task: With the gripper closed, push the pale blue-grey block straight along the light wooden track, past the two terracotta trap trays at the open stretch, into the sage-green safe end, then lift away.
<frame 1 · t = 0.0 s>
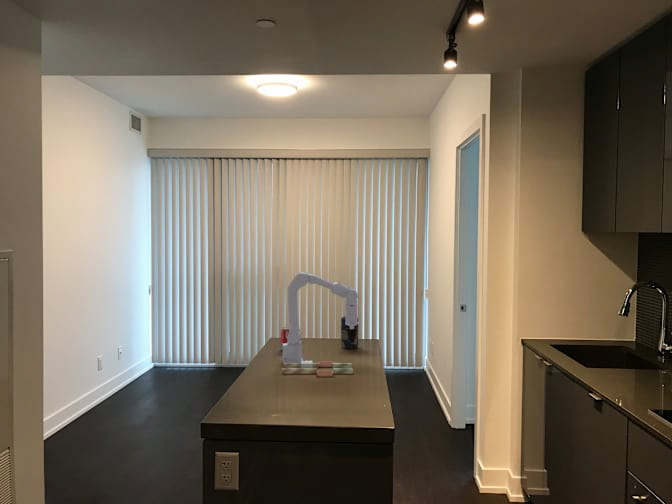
hand: (351, 341, 242), 10 cm above the countertop, tool pointing down, fingers open, 7 cm apart
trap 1: (325, 365, 235), on the countertop
soda can: (287, 350, 267), on the countertop
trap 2: (325, 375, 219), on the countertop
block: (306, 370, 227), on the countertop
canister: (349, 347, 273), on the countertop
track: (317, 370, 227), on the countertop
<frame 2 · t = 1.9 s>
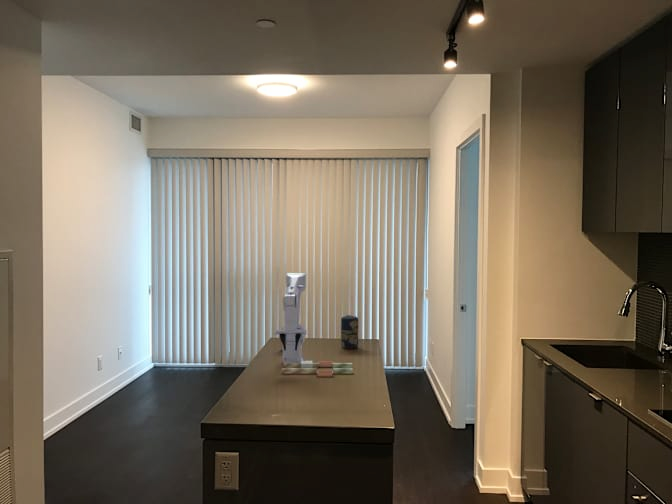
hand: (290, 350, 226), 9 cm above the countertop, tool pointing down, fingers open, 4 cm apart
nothing on the countertop moved.
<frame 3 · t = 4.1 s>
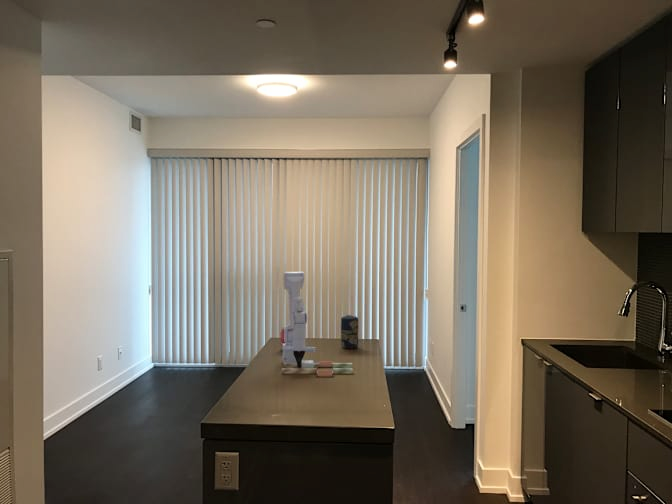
hand: (299, 367, 227), 1 cm above the countertop, tool pointing down, fingers closed
block: (307, 370, 227), on the countertop, touching gripper
everything else where it was.
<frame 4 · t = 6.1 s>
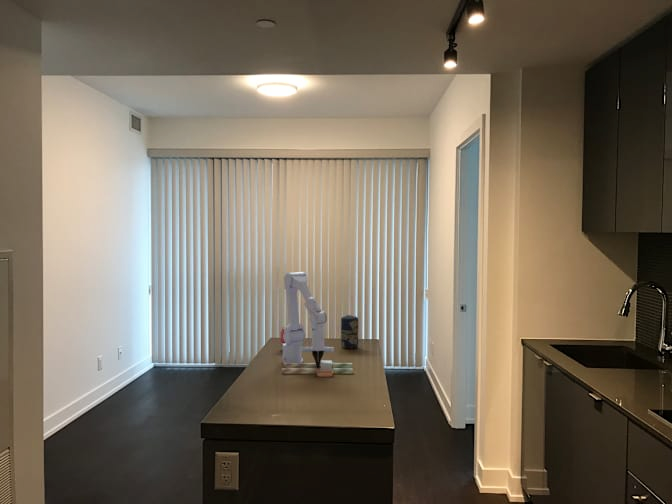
hand: (318, 367, 227), 1 cm above the countertop, tool pointing down, fingers closed
block: (326, 370, 227), on the countertop, touching gripper
everything else where it was.
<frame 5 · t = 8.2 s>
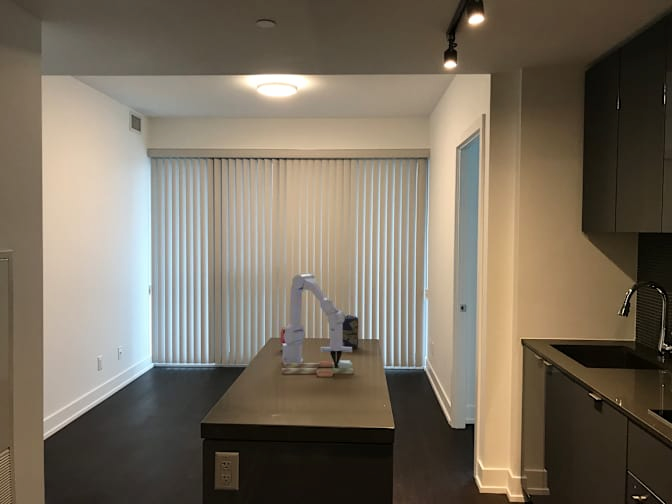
hand: (336, 367, 227), 1 cm above the countertop, tool pointing down, fingers closed
block: (344, 370, 227), on the countertop, touching gripper
everything else where it was.
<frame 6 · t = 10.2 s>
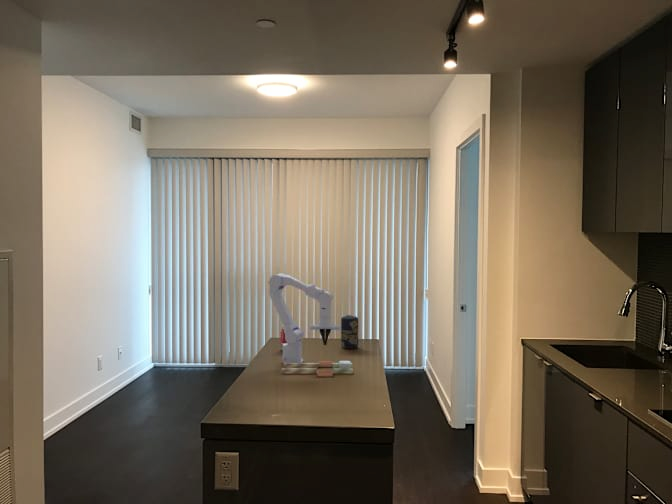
hand: (325, 344, 238), 9 cm above the countertop, tool pointing down, fingers closed
block: (344, 370, 227), on the countertop
everything else where it was.
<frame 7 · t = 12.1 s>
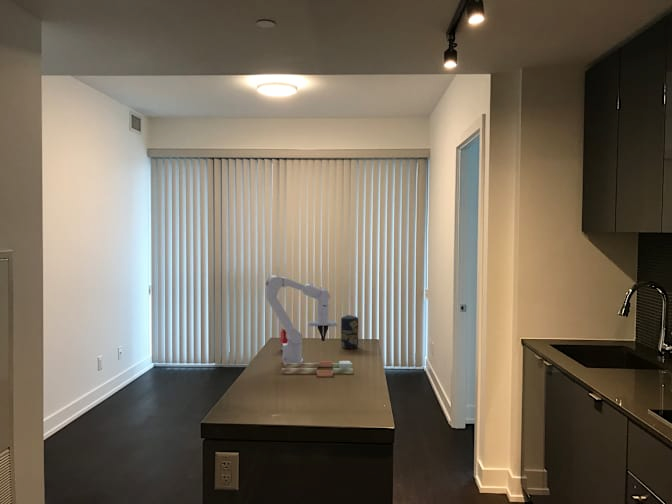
hand: (323, 340, 246), 9 cm above the countertop, tool pointing down, fingers closed
nothing on the countertop moved.
at the end: block 0.4 cm from the target spot, on the countertop; block tilted 0°; block moved 17.4 cm from its start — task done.
